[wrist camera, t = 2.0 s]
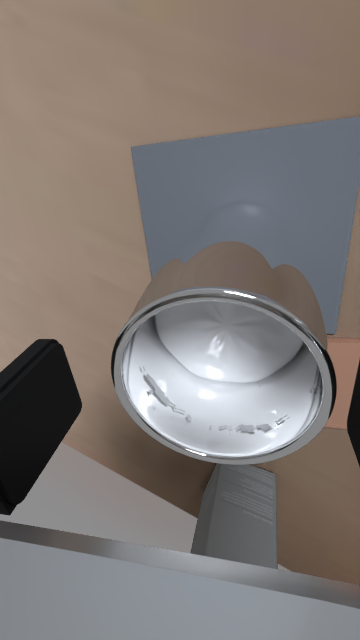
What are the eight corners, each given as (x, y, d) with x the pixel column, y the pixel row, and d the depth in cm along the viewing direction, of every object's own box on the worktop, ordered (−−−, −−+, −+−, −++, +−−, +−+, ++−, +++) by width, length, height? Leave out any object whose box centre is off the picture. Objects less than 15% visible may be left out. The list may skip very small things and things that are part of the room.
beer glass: (187, 283, 24) (106, 440, 11) (198, 188, 20) (98, 258, 8) (277, 300, 23) (300, 492, 10) (306, 202, 19) (395, 312, 7)
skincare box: (252, 510, 37) (248, 719, 23) (195, 489, 37) (160, 682, 24) (279, 470, 32) (294, 700, 19) (215, 448, 33) (185, 656, 20)
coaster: (385, 339, 23) (388, 343, 22) (363, 425, 27) (365, 430, 27) (260, 336, 25) (260, 340, 25) (258, 416, 29) (258, 421, 29)
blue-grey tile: (368, 115, 17) (369, 114, 17) (334, 332, 23) (335, 334, 23) (131, 146, 20) (130, 146, 20) (160, 328, 27) (159, 330, 27)
